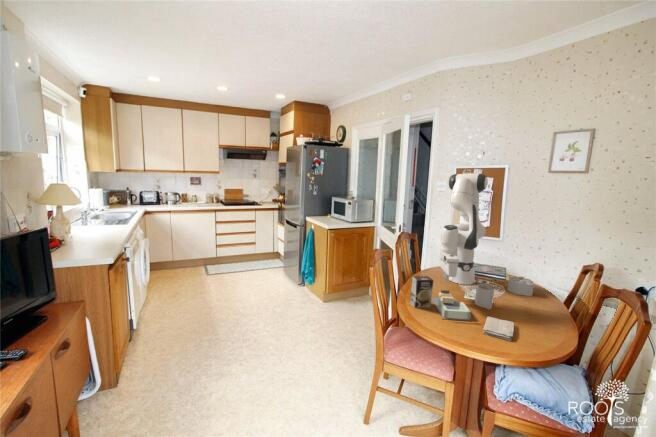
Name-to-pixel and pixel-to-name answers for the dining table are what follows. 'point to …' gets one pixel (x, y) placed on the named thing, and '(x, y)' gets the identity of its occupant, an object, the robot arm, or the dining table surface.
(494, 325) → the washcloth
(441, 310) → the dock
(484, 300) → the mug
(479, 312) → the dining table surface
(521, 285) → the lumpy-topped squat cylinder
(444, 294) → the beige box with tab
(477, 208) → the robot arm
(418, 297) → the coffee box
